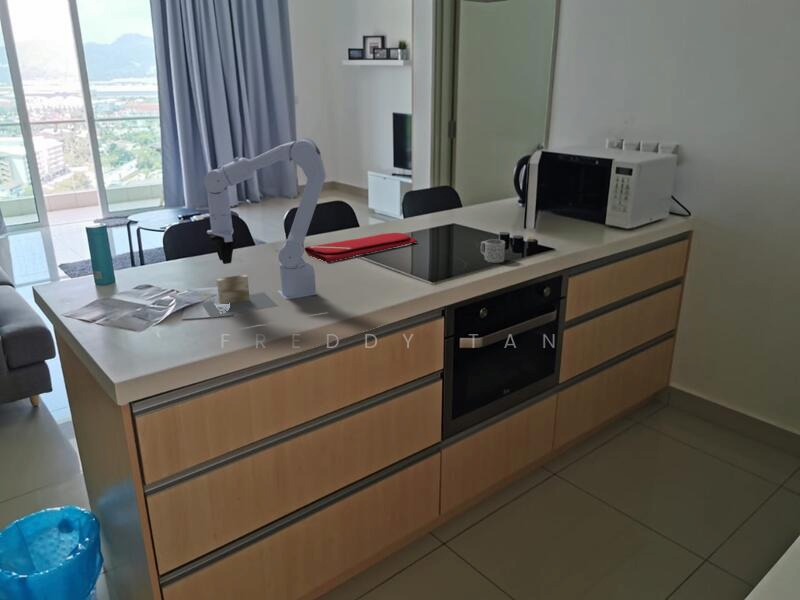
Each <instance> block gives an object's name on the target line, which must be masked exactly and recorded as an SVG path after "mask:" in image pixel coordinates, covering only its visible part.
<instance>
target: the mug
mask: <svg viewBox="0 0 800 600" xmlns="http://www.w3.org/2000/svg"><path fill="white" fill-rule="evenodd" d="M484 248H485V249H484ZM505 251H506V241H505V240H502V239H498V238H495V239H494V238H493V239H487V240H483V241H481V242H480V253H481V254H482V255H483V256H484V261H485V260H486V261H487V263H490V262H492V263H491V264H494V263H495V264H499V263H500V264H501V263H503V262H505ZM486 261H485V262H486Z"/></svg>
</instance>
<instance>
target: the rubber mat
mask: <svg viewBox="0 0 800 600" xmlns="http://www.w3.org/2000/svg"><path fill="white" fill-rule="evenodd" d="M249 297H250V300H247V301H241V302H235V303H230V308H229V310H228V311H226V310H225V311H226V313H223V311H221V312H222V314H220V313H219V310H218V309H217V308H216V306H215V305H214V302H213V301H214V300H211V301H205V303H203V302H201V303H202V304H201V306H202V307H203V309H204V310H205V311H206V312H207V315H208V316H209V317H210V318H211V319H212V318H219V317H224V316H225V317H226V316H228V315H235V314H241V313H242V314H243V313H246V312H252V311H253V312H254V311H258V310H263V309H269V308H274V307H278V306H279V305H278V304H277V303H275V301H274V300H273V299H272V298H271V297H269V296H268V294H266V292H259V293H253V294H249Z"/></svg>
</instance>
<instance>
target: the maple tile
mask: <svg viewBox="0 0 800 600" xmlns="http://www.w3.org/2000/svg"><path fill="white" fill-rule="evenodd" d="M248 279H249V277H248V275H247V274H240V275H233V276H228V277H220V278H216V285H217V293H218V300H219V303H220V304H229V303H235V302H241V301H247V300H250V297H249V295H250V288H249V280H248Z"/></svg>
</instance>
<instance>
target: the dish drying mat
mask: <svg viewBox="0 0 800 600" xmlns="http://www.w3.org/2000/svg"><path fill="white" fill-rule="evenodd" d="M414 242H417V243H418V240H417V239H416V238H414V237H411V236H410V235H409V234H407V233H406V234H405V233H401V232H390V233H388V232H387V233H380V234H376V235H375V234H374V235H370V236H366V237H359V238H354V239H347V240H342V241H341V240H340V241H336V242H329V243H323V244H318V245H317V244H316V245H309V246H304V252H305V253H306V254H307V255H308V256H309V255H310V256H309V257H311V256H312V257H311V258H313V257H315V258H317V259H316V260H318V259H321V260H323V261H326V262H330V263H332V262H331V261H335V262H337V261H336V260H340V259H345V258H349V257H353V256H356V255H359V254H366V253H371V252H375V251H380V250H384V249H388V248H393V247H397V246H401V245H405V244H409V243H414ZM315 258H314V259H315ZM349 259H350V258H349ZM321 260H320V261H321ZM345 260H346V259H345ZM323 261H322V262H323ZM340 261H341V260H340Z"/></svg>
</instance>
